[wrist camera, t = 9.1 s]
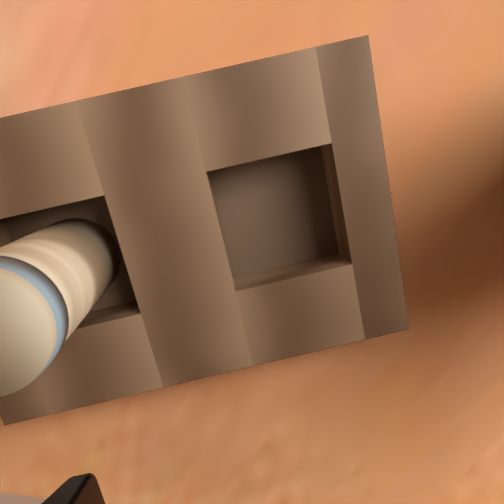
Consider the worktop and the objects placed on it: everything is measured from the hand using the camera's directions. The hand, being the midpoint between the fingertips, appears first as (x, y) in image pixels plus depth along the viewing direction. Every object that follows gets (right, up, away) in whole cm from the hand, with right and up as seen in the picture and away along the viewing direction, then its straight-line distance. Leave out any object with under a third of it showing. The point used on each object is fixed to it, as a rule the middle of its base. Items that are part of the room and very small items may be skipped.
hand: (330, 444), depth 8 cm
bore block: (-5, +4, +11) cm, 13 cm away
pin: (-9, +3, +11) cm, 14 cm away
